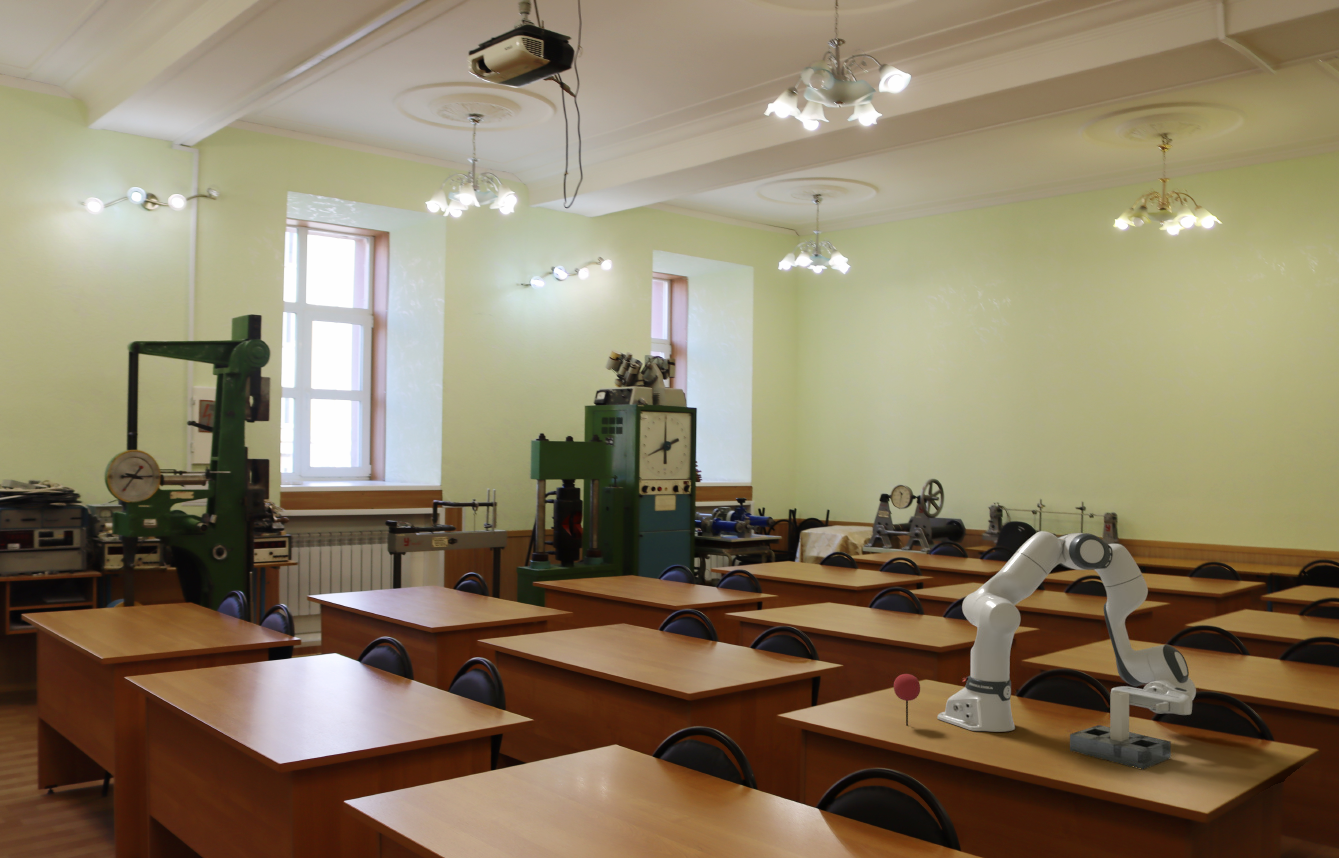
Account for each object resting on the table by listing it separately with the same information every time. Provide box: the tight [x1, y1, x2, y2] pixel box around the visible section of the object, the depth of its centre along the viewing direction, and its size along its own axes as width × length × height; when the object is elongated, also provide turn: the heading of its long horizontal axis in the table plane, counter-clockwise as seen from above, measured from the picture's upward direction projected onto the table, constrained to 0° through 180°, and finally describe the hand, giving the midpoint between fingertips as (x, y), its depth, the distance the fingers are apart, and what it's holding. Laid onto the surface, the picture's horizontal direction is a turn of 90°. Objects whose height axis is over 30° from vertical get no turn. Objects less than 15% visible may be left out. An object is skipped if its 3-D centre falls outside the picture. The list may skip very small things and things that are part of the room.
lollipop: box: [893, 673, 921, 726], centre depth 281 cm, size 8×8×15 cm
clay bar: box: [1109, 691, 1130, 742], centre depth 256 cm, size 4×3×15 cm, turn 130°
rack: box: [1069, 724, 1172, 770], centre depth 256 cm, size 16×20×4 cm
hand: (1137, 703), depth 262 cm, fingers open, 8 cm apart
